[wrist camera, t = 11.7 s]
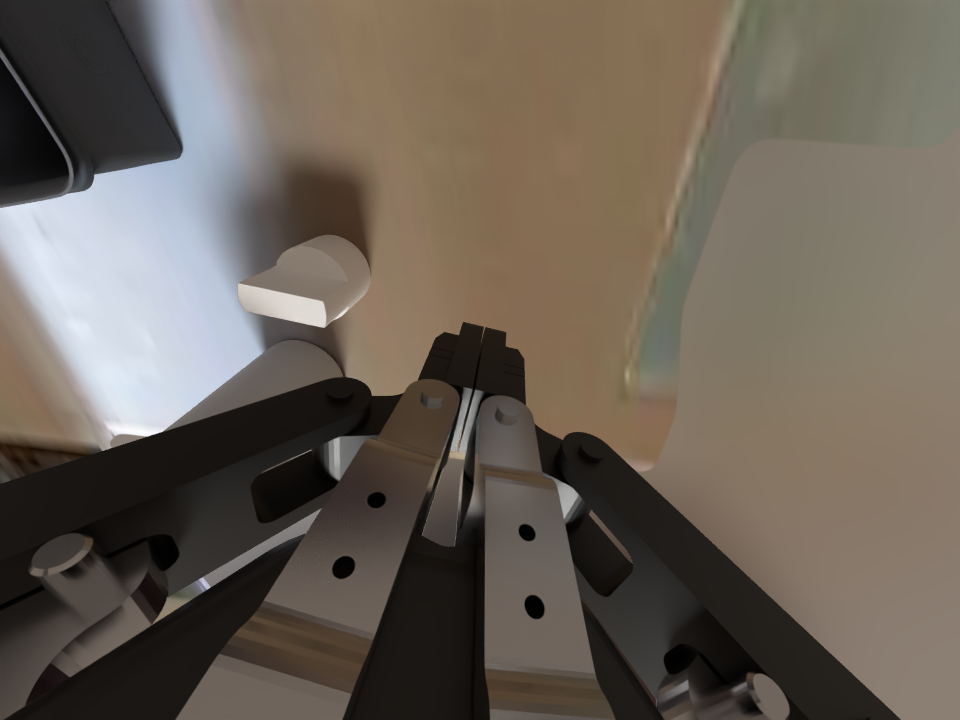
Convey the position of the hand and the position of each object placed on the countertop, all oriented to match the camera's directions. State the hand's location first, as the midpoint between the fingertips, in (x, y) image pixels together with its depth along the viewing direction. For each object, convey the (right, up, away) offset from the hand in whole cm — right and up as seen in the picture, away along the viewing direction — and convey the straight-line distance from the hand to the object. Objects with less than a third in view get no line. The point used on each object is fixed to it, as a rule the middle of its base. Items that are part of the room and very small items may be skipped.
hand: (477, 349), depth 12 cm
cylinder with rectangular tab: (-19, +11, +33) cm, 39 cm away
